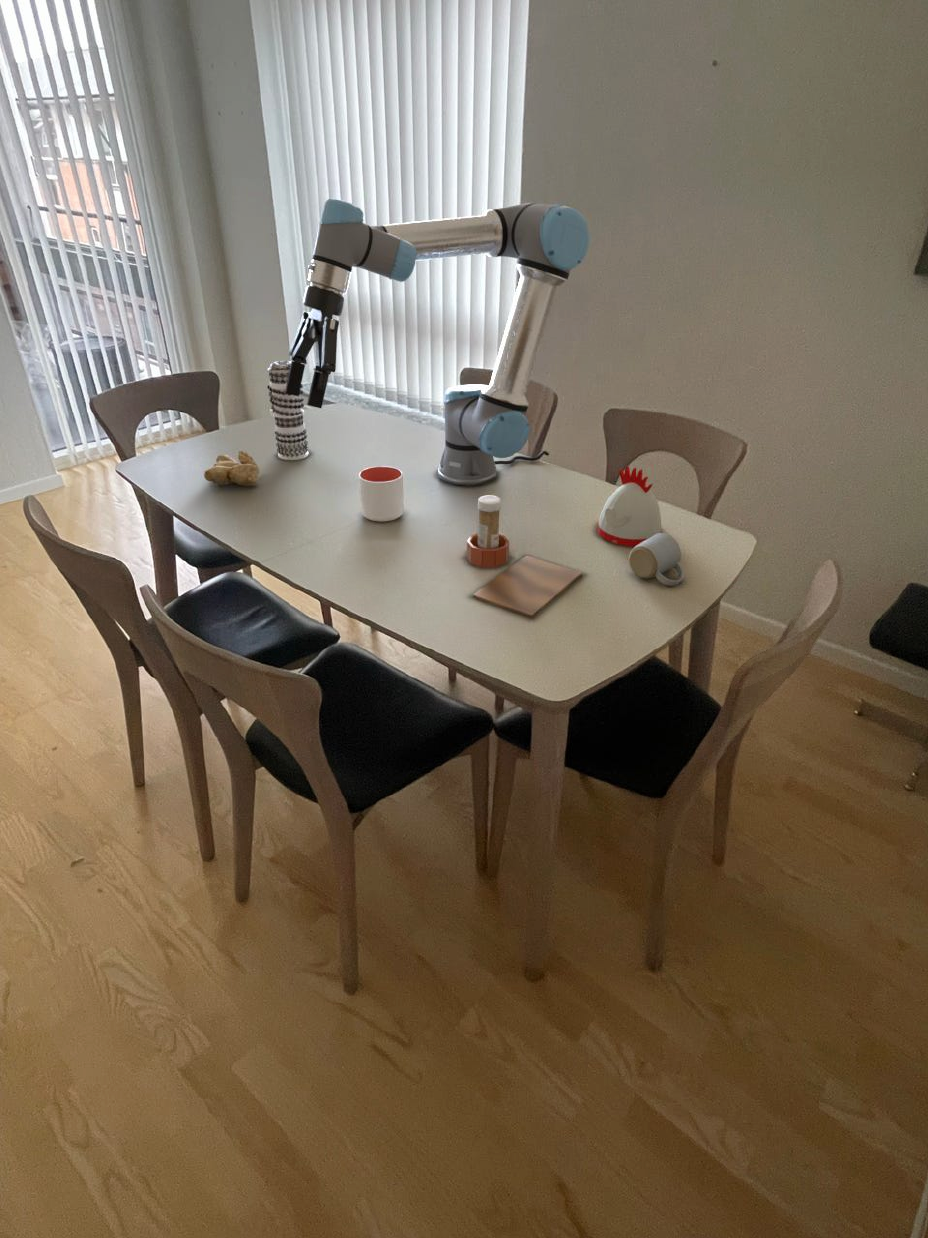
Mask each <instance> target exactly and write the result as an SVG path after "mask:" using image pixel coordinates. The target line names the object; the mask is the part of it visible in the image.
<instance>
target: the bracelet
mask: <svg viewBox="0 0 928 1238" xmlns="http://www.w3.org/2000/svg"><path fill="white" fill-rule="evenodd" d="M509 554H510V540H509V539H508V538H507V537H506V536H505V535H503V534H500V533H499V544H498V548H497V549H481V548H478V533H475V534H472V535H470V536H469V538H468V539H467V541H466V560H467V561H468V562H469V563H470V565H473V566H474V567H475V566H476V567H478V568H483V569H493V568H494V569H495V568H498V567H501V566H504V565H506V564H507V562H508V561H509V557H510V555H509Z"/></svg>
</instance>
